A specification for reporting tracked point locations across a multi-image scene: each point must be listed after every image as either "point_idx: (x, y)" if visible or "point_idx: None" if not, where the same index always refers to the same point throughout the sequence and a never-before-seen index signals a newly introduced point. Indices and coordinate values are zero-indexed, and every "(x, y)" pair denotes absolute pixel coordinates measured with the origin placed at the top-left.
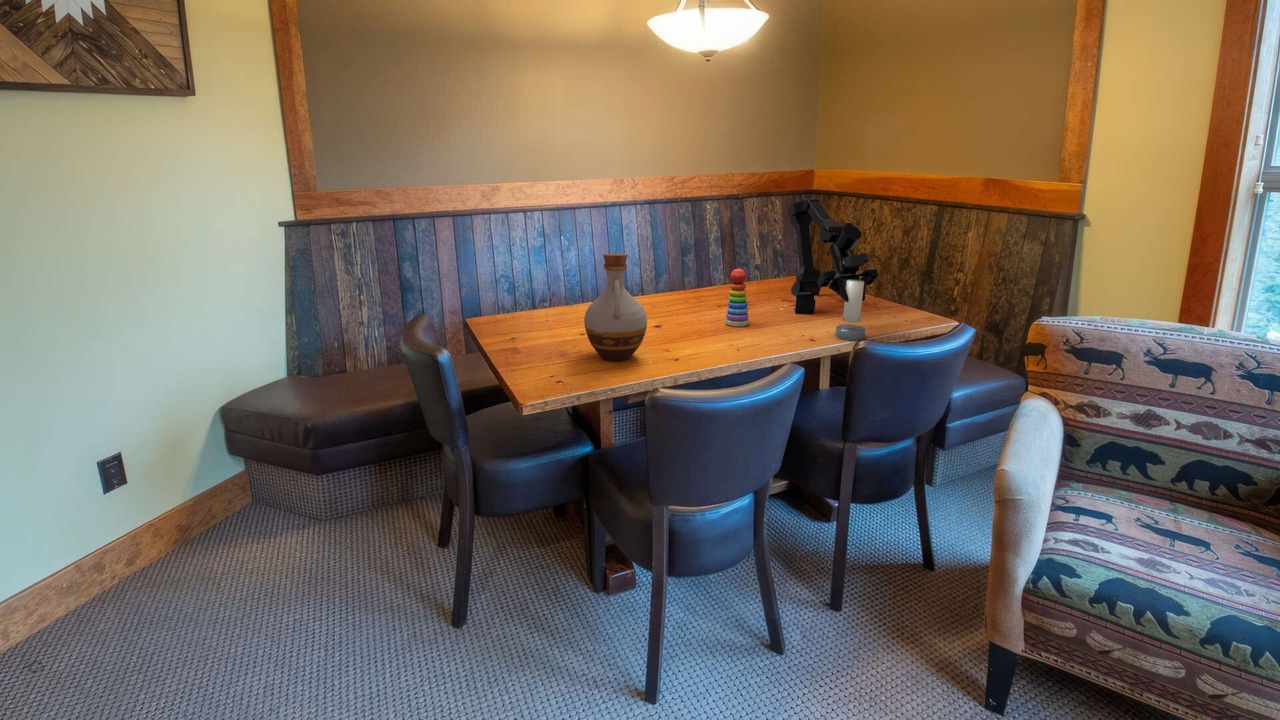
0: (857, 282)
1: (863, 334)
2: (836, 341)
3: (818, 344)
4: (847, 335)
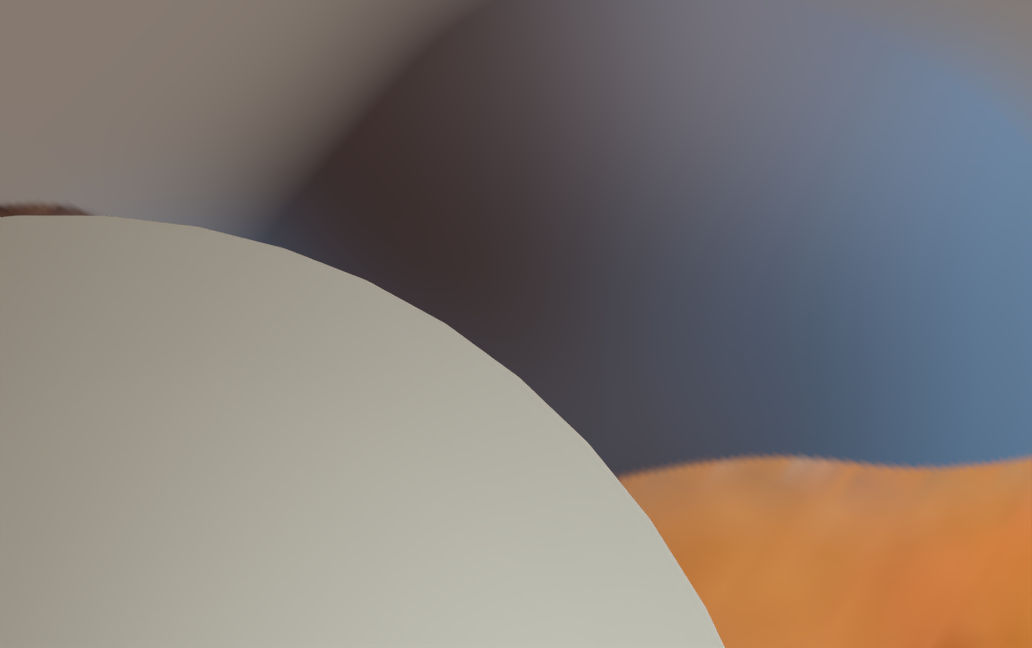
0: (265, 429)
1: None
2: (694, 538)
3: (966, 531)
4: None
